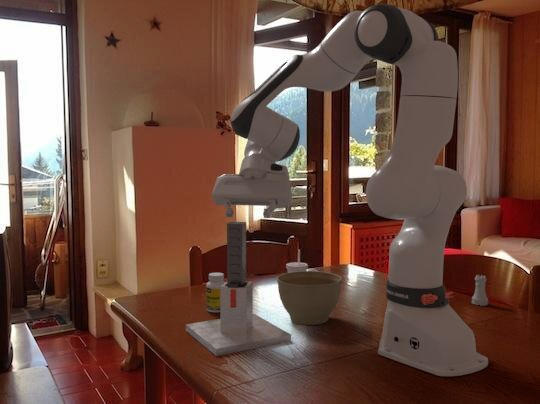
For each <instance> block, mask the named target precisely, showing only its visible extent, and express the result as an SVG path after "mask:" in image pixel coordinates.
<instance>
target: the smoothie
mask: <svg viewBox="0 0 540 404" xmlns="http://www.w3.org/2000/svg"><path fill="white" fill-rule="evenodd" d="M297 250H298V251H297V261H296V262H295V261H294V262H288V263H286V264H285V265H286V266H285V268H286V269H287V273H290V272H298V271H308V270H307V269H308V268H309V265H308V263H306V262H301V249H297Z"/></svg>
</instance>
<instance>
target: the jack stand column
mask: <svg viewBox="0 0 540 404" xmlns="http://www.w3.org/2000/svg"><path fill="white" fill-rule="evenodd" d="M226 270H227V271H226V278H227V279H226V281H227V286H228V283H239V287H245V286H246V281H247V222H246V221H229V222H228V223H226Z"/></svg>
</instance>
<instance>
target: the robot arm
mask: <svg viewBox="0 0 540 404" xmlns="http://www.w3.org/2000/svg"><path fill="white" fill-rule="evenodd" d="M439 39H440V38H439V34H438V31H437V29H436V27H435V26H434V25H433V23H431V22H430V21H429V20H428V19H426V18H424V17H421V16H419V15H417V14H416V13H414V12H413V11H411V10H409V9H405V8H403V7H398V6H396V5H394V4H388V3H378V4H374V5H371V6H369V7H367V8H366V9H365V10H363V11H362V10H353V11H350V12H348V13H347V14H346V15H345V16H344V17H343V18H341V19H340V20H339V22H337V23H336V25H335V26H334V27H332V29H331V30H330V31H328V33H327V34H326V36H325V37H324V38H323V39H322V40H321V41H320V43H319V44H318V45H317V46H316V47H315V48H313V49H311V51H308V52H306V53H303V54H294V55H293V56H291V57H290V58H289V59H287V60H286V61H285V62H283V63H282V64H281V65H280V66H279V67H278V68H277V69H275V71H274V72H273V73H271V74H270V75H269V76H268V77H267V78H266V80H264V81H263V82H262V83H261V84H260V85H259V86H258V87H257V88H256V89H255V90H254V91H253V92H251V93H250V94H249V95H247V96H246V97H245V98H243V99H242V100H241V101H240V102H239V103H238V104H237V105H236V106H235V107H234V109H233V111H232V114H231V115H230V119H229V122H230V125H231V128H232V130H233V132H234V134H235V135H236V136H238V137H241V138H243V139H244V140H245V139H246V140H247V141H246V144H245V147H244V151H243V152H244V153H243V155H244V157H243V159H242V160H241V164H240V167H239V173H237V174H235V173H233V174H227V173H224V174H222V175H220V176H217V178H216V180H215V182H214V183H215V184H214V187H213V189H212V192H211V199H212V201H213V202H214V204H215V205H217V206H224V207H225V217H226V218H233V217H234V210H233V207H232V206H257V207H258V206H260V207H261V206H263V207H264V206H265V207H267V208H263V212H262V213H263V214H262V216H263V218H264V219H271V215H272V213H273V212H274V211H275V210H276V209H277V207H288V206H290V205H291V204H292V201H293V200H292V199H293V197H292V196H293V193H292V192H293V191H292V185H291V180H290V178H291V177H290V174H289V168H288V167H287V166H286V165H282V164H279V162H282V161H283V160H285V159H287V158H289V157H291V155H293V154H294V153H295V152H296V150H297V148H298V146H299V144H300V140H301V139H300V138H301V130H300V127H299V125H298V124H297V123H296V122H295V121H293V120H291V119H289V118H288V117H286V116H284V115H283V114H280V113H278V112H277V111H276V110H274V109H271V108H270V107H268V105H269V104H270V103H272V102H273V101H274V99H276V98H277V97H278V96H279V95H280V94H282V93H283V92H284V91H285V90H287V89H289V88H305V89H310V90H315V91H318V92H324V93H325V92H327V93H329V92H330V93H331V92H336V91H339V90H342V89H344V88H345V87H347V86H348V84H350V82H352V80H354V78H355V77H356V76H357V75H358V73H360V71H361V70H362V68H364V66H365V65H366V64H367V63H368V62H369V61H370V60H371V59H373V60H376V61H380V62H383V63H386V64H388V65H393V66H397V67H398V68H399V71H400V73H401V87H400V95H399V96H400V97H399V104H398V114H397V121H396V129H395V134H394V137H393V140H392V144H391V146H390V148H389V151H388V153H387V155H386V157H385V158H384V161H383V163H382V164H381V166H380V167H379V168H378V169H377V170H376V171H375V172H374V173H373V174H372V175H371V176H370V177H369V178H368V181H367V184H366V187H365V198H366V199H365V200H366V203H367V204H368V205H367V206H368V207H369V208H370V210H371V212H373V213H374V214H375V215H376V216H379V217H382V218H386V219H390V220H391V219H392V220H397V221H398V220H399V221H401V220H403V222H402V226H401V229H400V231H399V232H398V233H397V236H395V238H393V240H392V241H391V243H390V245H389V248H388V249H389V252H388V255H389V256H388V257H389V258H388V280H387V281H386V285H385V297H386V299H387V304H386V309H385V313H384V319H383V327H382V332H381V333H382V334H381V338H380V340H379V344H378V345H379V347H378V350H377V353H378V355H380V356H381V357H385V358H386V359H387V358H388V359H390V360H392V361H396V362H398V363H401V364H404V365H407V366H410V367H412V368H415V369H418V370H421V371H424V372H427V373H430V374H432V375H435V376H437V377H438V376H439V377H458V376H459V377H460V376H464V375H469V374H473V373H476V372H479V371H481V370H484V369H485V368H487V367H488V365H489V358H488V357H486V356H484V355H482V354H481V353H480V352H477V348H476V347H477V345H476V338H475V337H476V336H475V333H474V332H473V330H472V329H471V328H470V327H469V325H467V323H465V321H464V320H463V319H462V318H461V316H460V315H458V313H457V312H456V311H455V310H454V309H453V308H452V306H450V300H449V299H450V298H454V296H453V295H452V294H454V291H449V292H447V289H446V286H445V284H444V283H443V278H444V276H443V275H444V259H445V249H446V242H447V238H448V235H449V232H450V228H451V226H452V224H453V223H452V222H453V220H454V217H455V216H456V213H457V211H458V210H459V209H460V207H461V206H462V205H463V204H464V202H465V200H466V198H467V194H468V193H467V191H468V188H467V183H466V180H465V178H464V177H463V176H462V174H460V172H458V171H456V170H454V169H452V168H448V167H446V166H442V165H435V164H436V162H437V159H438V157H439V155H440V152H441V151H442V149H443V148H444V147H445V146H446V145H447V144H448V143H449V142H450V141H451V139H452V138H453V137H452V136H453V133H454V132H453V131H454V124H455V116H456V115H455V114H456V107H457V97H458V90H459V89H458V87H459V86H458V85H459V69H458V66H459V65H458V56H457V52H456V50H455V49H454V47H453V46H452V45H450V44H447V43H446V42H443V41H441V40H439ZM277 162H278V163H277Z"/></svg>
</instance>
